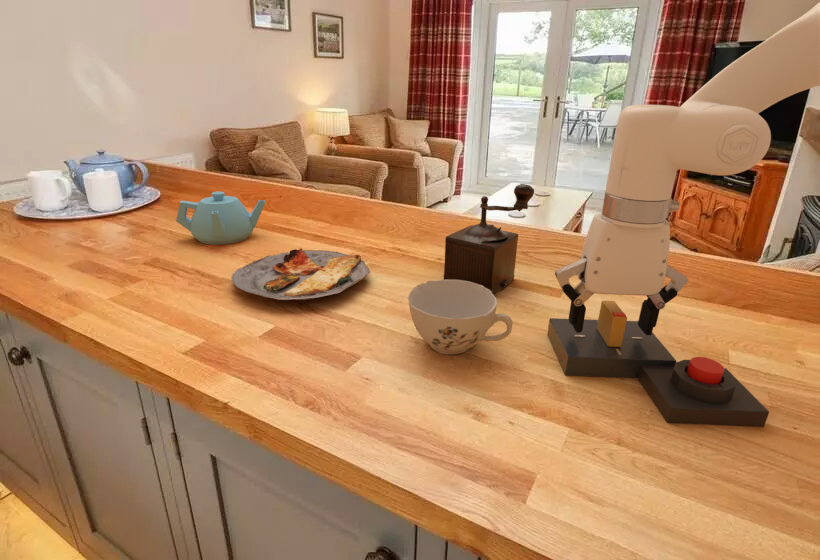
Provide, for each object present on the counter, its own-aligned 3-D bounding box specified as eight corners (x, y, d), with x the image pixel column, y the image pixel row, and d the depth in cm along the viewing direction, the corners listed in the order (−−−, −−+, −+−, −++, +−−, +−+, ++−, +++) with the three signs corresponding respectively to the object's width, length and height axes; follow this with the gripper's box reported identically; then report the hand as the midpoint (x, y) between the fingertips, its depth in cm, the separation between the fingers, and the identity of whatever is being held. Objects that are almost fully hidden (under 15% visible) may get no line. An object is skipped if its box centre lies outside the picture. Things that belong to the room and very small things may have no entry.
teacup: (392, 355, 69) (392, 304, 66) (426, 318, 80) (428, 273, 77) (495, 382, 64) (501, 328, 61) (518, 339, 74) (524, 291, 71)
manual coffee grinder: (494, 298, 88) (503, 199, 81) (441, 283, 93) (446, 189, 86) (528, 272, 99) (539, 183, 92) (480, 260, 105) (486, 176, 98)
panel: (639, 338, 75) (643, 320, 74) (671, 380, 65) (677, 359, 64) (547, 335, 75) (549, 317, 74) (564, 376, 65) (568, 355, 64)
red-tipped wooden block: (596, 328, 71) (602, 298, 70) (608, 328, 71) (614, 299, 70) (607, 346, 67) (614, 315, 65) (621, 347, 67) (628, 316, 65)
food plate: (294, 252, 108) (293, 237, 106) (388, 270, 99) (388, 254, 97) (207, 294, 87) (204, 275, 86) (316, 322, 78) (315, 302, 77)
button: (710, 369, 61) (714, 357, 60) (726, 386, 58) (730, 373, 57) (681, 368, 61) (684, 356, 60) (695, 385, 58) (699, 372, 57)
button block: (721, 381, 65) (729, 355, 63) (764, 427, 56) (774, 398, 55) (637, 378, 65) (643, 352, 63) (667, 423, 57) (675, 394, 55)
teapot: (228, 224, 126) (223, 182, 122) (271, 233, 119) (266, 190, 115) (175, 239, 114) (167, 194, 110) (219, 251, 107) (212, 203, 103)
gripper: (690, 203, 65) (661, 319, 72) (558, 199, 66) (542, 314, 72) (720, 219, 58) (685, 345, 65) (572, 214, 59) (553, 340, 65)
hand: (610, 329), depth 68 cm, fingers open, 9 cm apart
